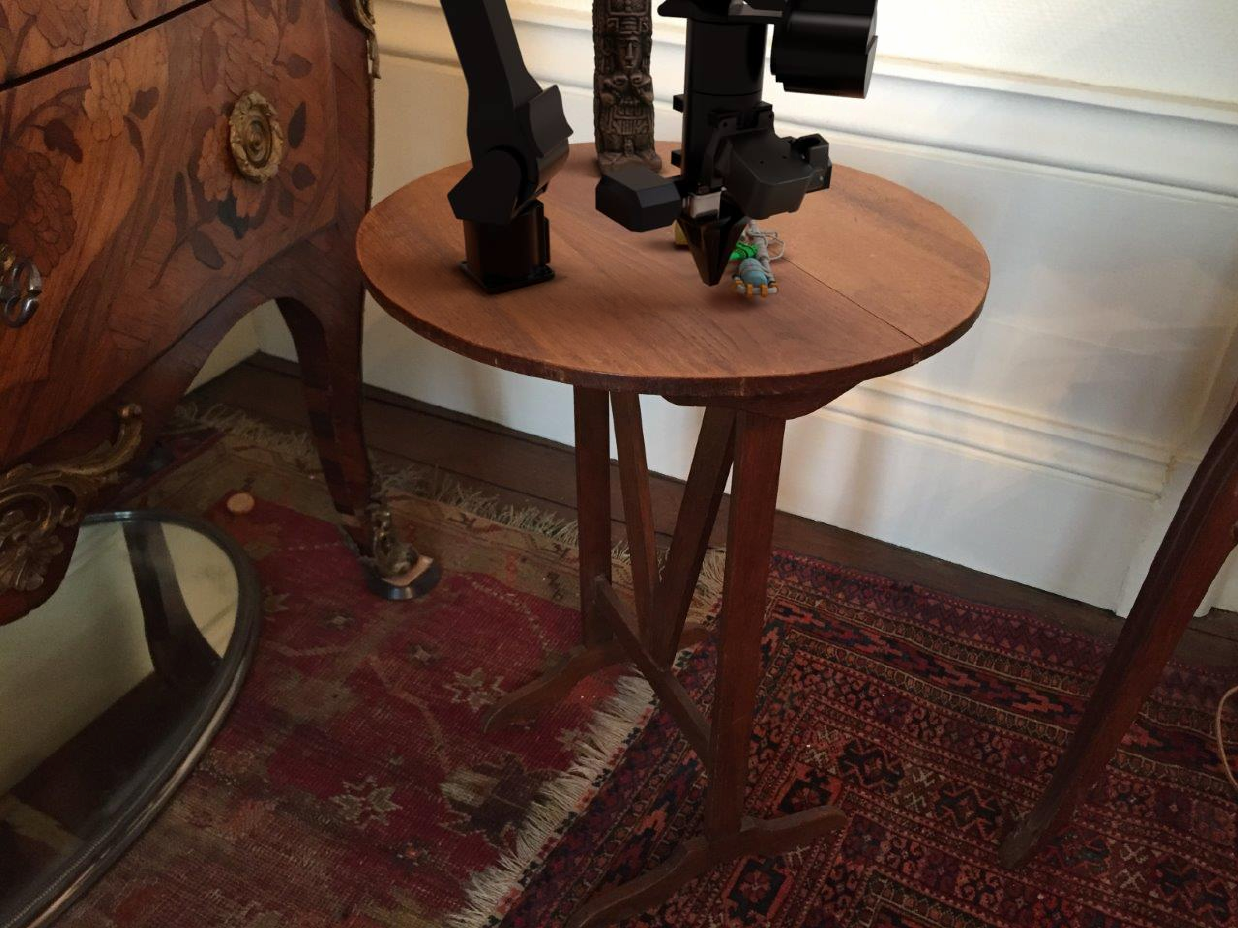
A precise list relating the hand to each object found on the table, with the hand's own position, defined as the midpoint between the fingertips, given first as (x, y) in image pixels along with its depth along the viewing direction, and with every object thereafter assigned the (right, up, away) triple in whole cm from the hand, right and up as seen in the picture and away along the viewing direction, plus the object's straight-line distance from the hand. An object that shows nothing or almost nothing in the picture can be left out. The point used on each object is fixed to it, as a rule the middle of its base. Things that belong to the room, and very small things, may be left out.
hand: (710, 284), depth 79 cm
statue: (-7, +19, +29) cm, 35 cm away
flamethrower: (+3, +6, +12) cm, 14 cm away
